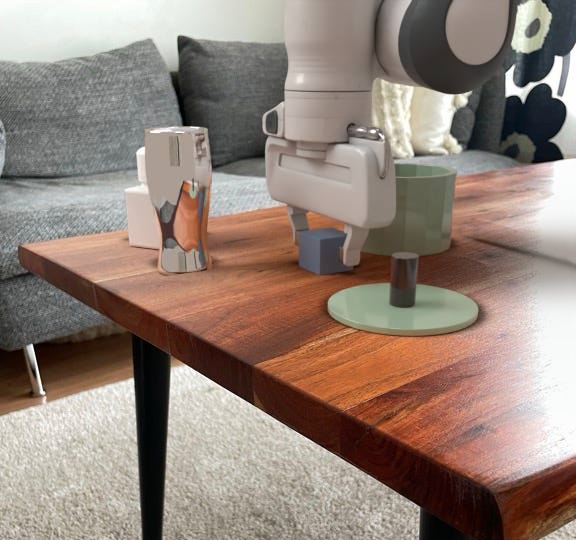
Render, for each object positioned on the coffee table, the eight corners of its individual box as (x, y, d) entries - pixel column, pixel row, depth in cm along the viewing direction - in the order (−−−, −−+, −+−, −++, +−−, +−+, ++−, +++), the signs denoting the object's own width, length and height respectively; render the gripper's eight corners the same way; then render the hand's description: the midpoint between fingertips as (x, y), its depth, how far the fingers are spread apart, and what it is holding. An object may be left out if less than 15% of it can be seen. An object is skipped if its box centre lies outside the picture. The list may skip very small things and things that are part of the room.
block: (331, 265, 83) (332, 227, 81) (353, 274, 79) (354, 234, 77) (298, 270, 81) (298, 231, 79) (319, 280, 77) (320, 239, 75)
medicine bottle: (161, 235, 97) (154, 141, 92) (206, 240, 94) (201, 144, 89) (128, 246, 91) (118, 147, 86) (175, 252, 88) (168, 150, 83)
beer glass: (206, 279, 77) (198, 132, 71) (144, 276, 78) (132, 131, 72) (223, 263, 84) (217, 126, 77) (165, 260, 85) (155, 125, 78)
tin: (406, 232, 98) (410, 160, 94) (471, 252, 88) (479, 172, 84) (328, 243, 92) (330, 167, 88) (388, 265, 82) (393, 181, 78)
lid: (412, 286, 75) (416, 232, 72) (509, 325, 64) (517, 262, 62) (300, 307, 69) (300, 248, 66) (386, 354, 58) (390, 285, 55)
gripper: (417, 127, 67) (406, 273, 72) (303, 113, 83) (302, 233, 88) (361, 130, 64) (355, 281, 69) (254, 115, 80) (256, 239, 86)
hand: (324, 254), depth 79 cm, fingers open, 8 cm apart
